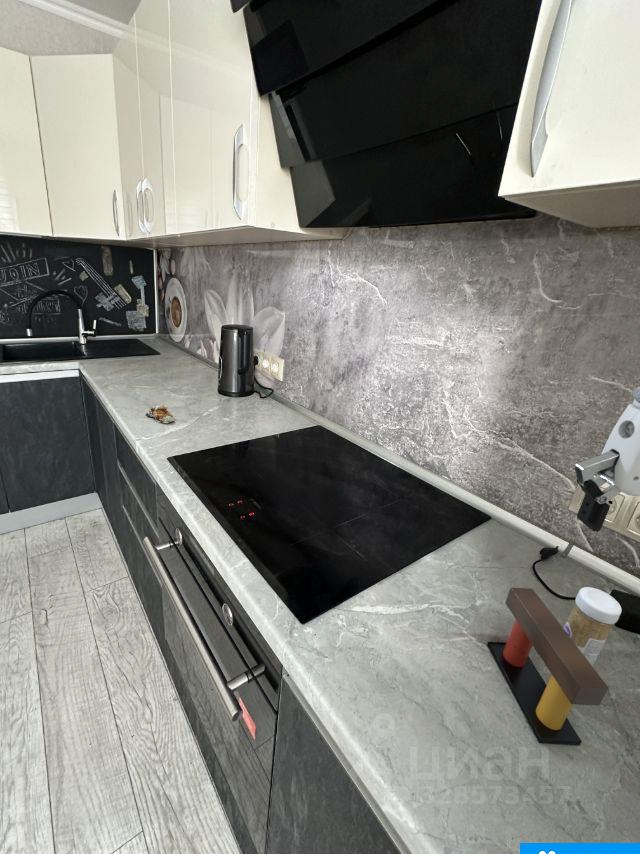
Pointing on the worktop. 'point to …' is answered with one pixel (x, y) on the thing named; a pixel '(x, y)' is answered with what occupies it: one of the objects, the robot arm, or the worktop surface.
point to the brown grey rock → (160, 414)
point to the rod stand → (534, 690)
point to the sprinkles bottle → (592, 621)
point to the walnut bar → (556, 648)
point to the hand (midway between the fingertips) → (625, 525)
